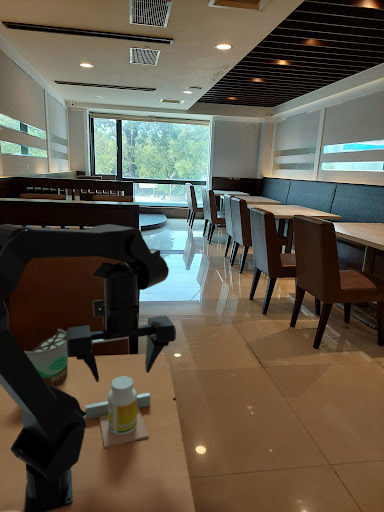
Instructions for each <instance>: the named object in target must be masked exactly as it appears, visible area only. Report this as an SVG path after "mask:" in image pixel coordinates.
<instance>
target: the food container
mask: <svg viewBox="0 0 384 512" xmlns="http://www.w3.org/2000/svg"><path fill="white" fill-rule="evenodd" d="M23 351H24V352H25V353H26V355H27V356H28V358H29V359H30V361H31V362H32V363H33V365H34V366H35V368H36V369H37V370H38V372H39V373H40V375H41V376H42V378H43V379H44V380H45V382H46V383H47V385H48V386H50V385H52V386H54V387H56V388H57V387H58V386H60V385H61V384H62V383H64V382H65V381H66V379H67V378H68V360H69V356H68V352H67V336H66V331H65V330H64V329H61V328H57V332H56V333H55V334H54V335H52V336H50V337H48V338H47V339H44V340H43V341H42V342H40V343H39V344H38V345H37V346H35V347H34V348H33V349H32V350H29V351H26V350H23Z"/></svg>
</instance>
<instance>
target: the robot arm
mask: <svg viewBox="0 0 384 512" xmlns="http://www.w3.org/2000/svg"><path fill="white" fill-rule="evenodd" d="M82 257H100V258H101V257H102V258H105V259H110V260H115V261H120V262H115V263H110V262H107V261H103V262H101V264H100V265H99V267H98V268H96V269H95V270H94V272H93V274H92V275H93V277H96V278H97V279H98V278H99V279H103V287H104V288H103V289H104V290H103V291H104V293H103V294H104V299H95V300H92V310H93V317H94V318H101V317H102V323H103V327H105V330H97V331H91V328H90V325H89V324H87V325H81V326H80V325H79V326H72V327H69V328H68V329H67V330H66V331H65V332H66V336H67V352H68V357H71V358H74V357H75V358H76V360H77V361H81V360H83V361H84V363H85V365H86V367H88V368H89V371H90V372H91V374H92V376H93V378H94V380H95V381H96V383H98V382H100V375H99V372H98V371H99V370H98V365H97V361H96V356H95V355H96V354H95V351H94V346H93V344H98V343H106V342H112V341H113V342H114V341H119V340H127V339H131V338H132V339H134V338H139V337H140V338H141V337H145V336H146V350H145V352H146V353H145V361H144V363H145V372H146V373H147V374H149V373H150V372H151V369H152V368H153V366H154V364H155V362H156V360H157V358H158V357H159V355H160V353H161V352H162V351H163V349H164V348H165V347H168V346H169V344H170V342H174V341H176V339H177V330H176V325H174V323H173V322H172V321H171V319H170V318H169V317H168V316H166V315H161V316H160V315H159V316H152V317H148V319H147V324H143V325H139V313H140V312H139V309H140V308H139V291H143V290H147V289H149V288H151V287H153V286H156V285H158V284H161V283H162V282H164V281H166V280H167V278H168V277H169V272H170V269H169V266H168V264H167V262H166V260H165V259H164V257H162V256H161V250H160V249H155V248H149V245H148V244H147V243H146V241H145V239H144V238H143V234H142V230H140V229H139V228H136V227H131V226H124V225H123V226H122V225H117V224H109V223H108V224H107V223H106V224H102V225H101V224H100V225H96V226H95V225H94V226H92V227H91V228H88V229H74V228H73V229H70V228H53V227H52V228H50V227H35V226H33V227H32V226H22V225H21V226H20V225H15V224H9V223H5V224H1V225H0V386H1V387H2V388H3V389H4V390H5V392H6V393H7V394H8V396H10V398H11V399H12V400H13V401H14V403H15V404H16V405H17V406H18V407H19V409H20V411H21V413H20V415H21V416H20V421H21V423H22V426H23V427H22V428H21V431H20V432H19V434H18V435H17V437H16V439H15V440H14V442H13V444H12V446H11V447H10V451H11V453H12V454H13V455H14V457H16V459H19V460H20V461H22V462H23V463H25V472H26V488H25V501H24V512H49V511H50V512H51V511H53V510H57V509H60V508H63V507H67V506H70V505H71V504H72V503H73V500H74V498H73V482H72V481H73V479H72V467H73V466H74V465H75V464H77V463H78V461H79V459H80V456H81V455H80V454H81V450H82V447H83V442H84V439H85V432H86V430H85V429H86V428H87V421H86V414H87V413H86V410H85V411H84V410H83V409H82V408H81V405H80V403H79V401H78V399H77V398H76V397H75V396H73V395H71V394H69V393H68V392H66V391H64V390H61V389H60V388H58V387H57V386H56V387H54V386H52V385H50V386H48V385H47V383H46V382H45V380H44V379H43V378H42V376H41V375H40V373H39V372H38V370H37V369H36V368H35V366H34V365H33V363H32V362H31V361H30V359H29V358H28V356H27V355H26V353H25V352H24V351H25V350H24V349H23V348H22V346H21V345H20V343H19V342H18V341H17V339H16V338H15V336H14V335H13V333H12V332H11V330H10V328H9V309H8V307H7V305H6V302H5V301H6V299H7V298H8V297H9V296H10V295H12V293H13V292H14V291H15V290H16V288H17V287H18V285H19V283H20V280H21V278H22V276H23V274H24V271H25V269H26V266H28V264H29V263H30V262H31V261H32V260H33V259H49V258H50V259H55V258H56V259H57V258H82Z"/></svg>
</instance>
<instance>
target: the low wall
mask: <svg viewBox="0 0 384 512" xmlns="http://www.w3.org/2000/svg"><path fill="white" fill-rule="evenodd" d="M150 406H151V394H150V392H145V393H140V394H137V408H139V409H141V408H145V407H150ZM84 408H85V412H86V413H87V414H86V415H85V420H90V419H94V418H98V417H100V416H104V415H108V400H106V401H100V402H96V403H90V404H86V405H85V407H84Z"/></svg>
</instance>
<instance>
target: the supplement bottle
mask: <svg viewBox="0 0 384 512" xmlns="http://www.w3.org/2000/svg"><path fill="white" fill-rule="evenodd" d="M110 386H111V390H109V392H108V393H107V394H108V395H107V401H108V426H109V429H110V431H111V432H112V433H114V434H116V435H125V434H128V433H130V432H132V431H133V430H134V429H135V427H136V425H137V395H138V394H137V393H138V392H137V391H136V389H135V388H134V380H133V378H131V377H130V376H125V375H123V376H118V377H115V378H114V379H113V380H112V381H111V385H110Z"/></svg>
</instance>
